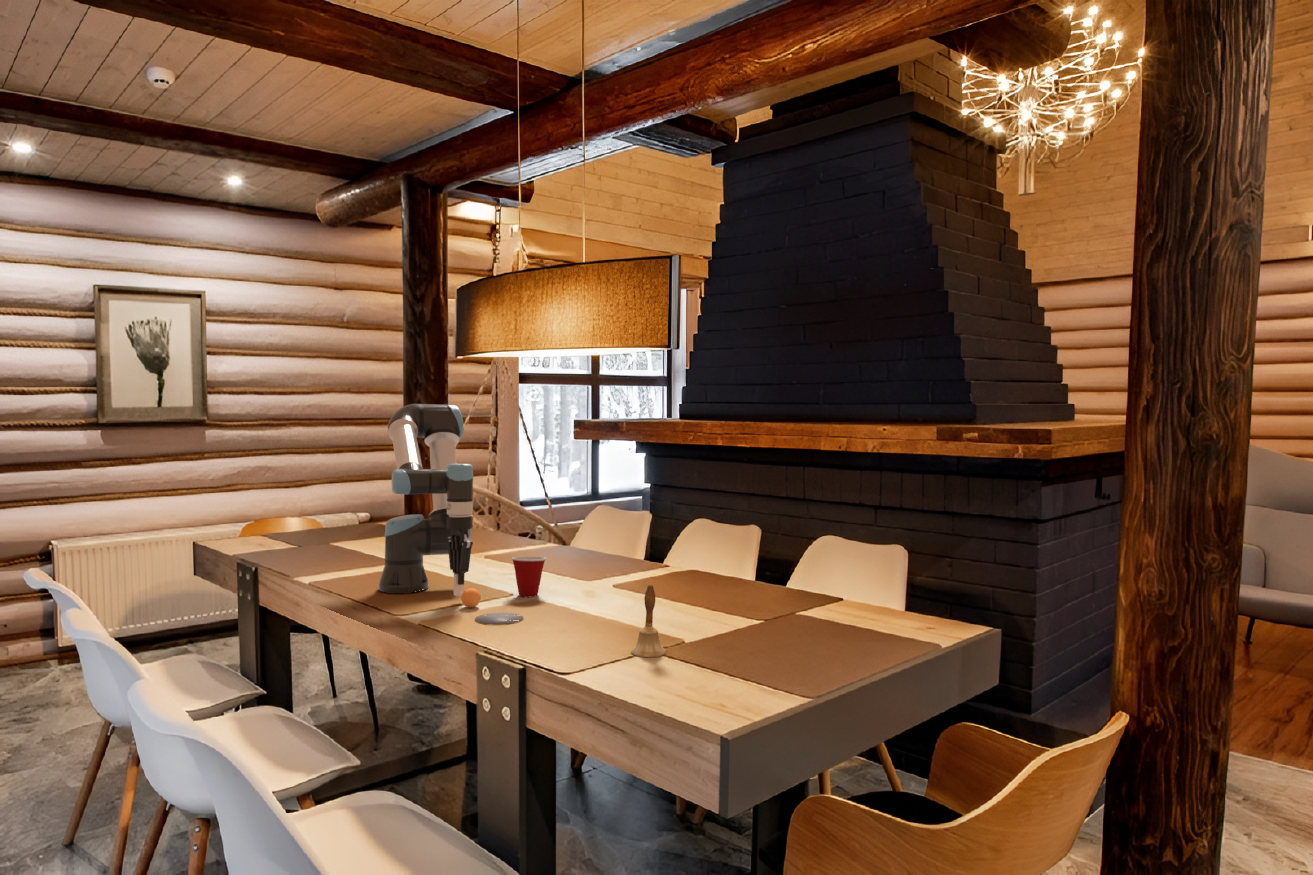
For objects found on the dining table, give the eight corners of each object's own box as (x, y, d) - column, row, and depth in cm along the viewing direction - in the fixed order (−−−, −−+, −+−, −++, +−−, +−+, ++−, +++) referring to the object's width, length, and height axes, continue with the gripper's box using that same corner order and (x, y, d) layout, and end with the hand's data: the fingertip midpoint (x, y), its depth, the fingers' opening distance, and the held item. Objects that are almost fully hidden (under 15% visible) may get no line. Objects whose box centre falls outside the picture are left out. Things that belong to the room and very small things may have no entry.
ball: (457, 606, 235) (458, 587, 235) (475, 604, 238) (475, 585, 238) (466, 610, 230) (466, 591, 230) (484, 607, 234) (484, 588, 234)
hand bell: (646, 645, 197) (647, 580, 197) (672, 652, 192) (674, 585, 192) (623, 653, 191) (624, 585, 190) (650, 660, 186) (651, 590, 185)
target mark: (466, 617, 222) (466, 616, 222) (508, 611, 230) (508, 610, 230) (488, 627, 212) (488, 626, 212) (532, 620, 220) (532, 619, 220)
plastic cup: (549, 592, 257) (550, 554, 257) (541, 599, 246) (541, 560, 246) (516, 590, 258) (516, 553, 258) (506, 598, 247) (507, 559, 247)
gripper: (438, 514, 243) (437, 593, 243) (457, 518, 232) (456, 600, 232) (461, 513, 247) (461, 590, 247) (481, 516, 237) (480, 597, 237)
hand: (458, 595), depth 240 cm, fingers closed
